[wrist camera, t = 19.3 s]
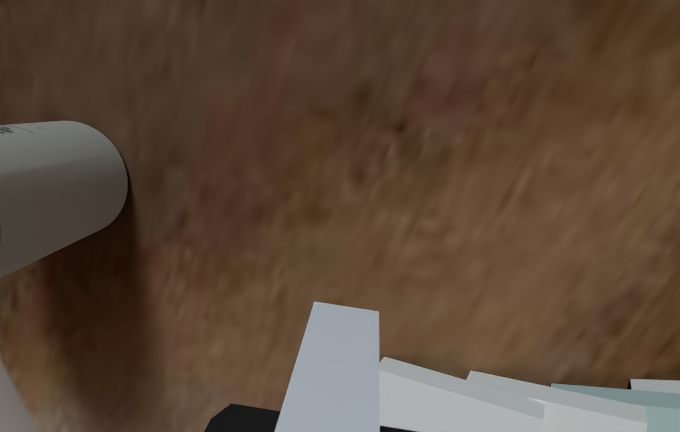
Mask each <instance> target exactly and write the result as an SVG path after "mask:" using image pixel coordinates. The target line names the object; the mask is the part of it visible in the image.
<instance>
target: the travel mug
mask: <svg viewBox="0 0 680 432" xmlns="http://www.w3.org/2000/svg"><path fill="white" fill-rule="evenodd" d="M127 190H128V179H127V173H126V168H125V165H124V162H123V160H122V158H121V156H120V154H119V152H118V151H117V149H116V148H115V146H114V145H113V144H112V143H111V142H110V141H109V140H108V138H106V137H105V136H104V135H103V134H102V133H100V132H99V131H97V130H96V129H94V128H92V127H90V126H88V125H85V124H83V123H79V122H74V121H53V122H40V123H26V124H13V125H0V278H1V277H3V276H5V275H7V274H9V273H12V272H14V271H16V270H18V269H20V268H22V267H24V266H26V265H28V264H30V263H32V262H34V261H37V260H39V259H41V258H43V257H45V256H47V255H49V254H51V253H53V252H55V251H57V250H59V249H62V248H64V247H66V246H68V245H70V244H72V243H74V242H76V241H78V240H80V239H82V238H84V237H86V236H89V235H91V234H93V233H95V232H97V231H99V230H101V229H103V228H105V227H106V226H108V225H109V224H110V223H111V222H113V221H114V220H115V218H116V217H117V216H118V215H119V213H120V212H121V210H122V208H123V206H124V203H125V200H126V197H127Z"/></svg>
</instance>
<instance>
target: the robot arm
mask: <svg viewBox="0 0 680 432" xmlns="http://www.w3.org/2000/svg"><path fill="white" fill-rule="evenodd" d="M204 432H417V431H411V430H405V429H399V428H393V427H386V426H380V398H379V312H378V311H372V310H365V309H359V308H352V307H346V306H339V305H333V304H326V303H320V302H314V304H313V308H312V311H311V314H310V318H309V321H308V324H307V327H306V331H305V334H304V337H303V340H302V344H301V347H300V350H299V354H298V357H297V360H296V363H295V367H294V370H293V373H292V376H291V380H290V383H289V386H288V389H287V393H286V396H285V399H284V403H283V406H282V409H281V412H280V411H274V410H268V409H262V408H256V407H249V406H243V405H237V404H230V405H229V406H228V407H226V408H225V409H224V410H222V411H221V412H220V413H218V414H217V415H216V416H214V417H213V418H212V419H211V420H210V422H209V424H208V426H207V428H206V430H205V431H204Z"/></svg>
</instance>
